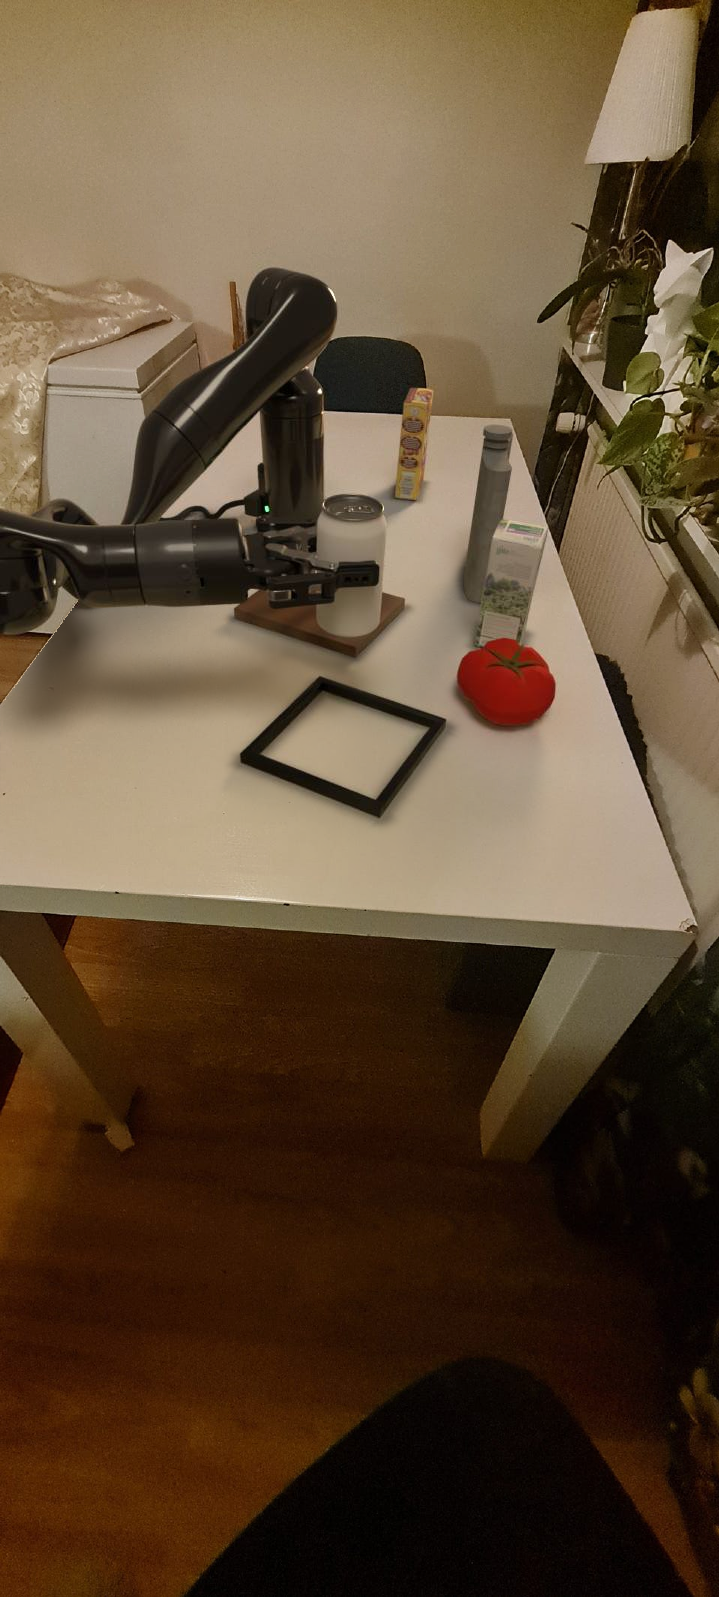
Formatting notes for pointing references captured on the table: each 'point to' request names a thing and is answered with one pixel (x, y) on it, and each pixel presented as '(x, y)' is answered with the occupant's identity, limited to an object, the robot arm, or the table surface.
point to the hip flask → (487, 506)
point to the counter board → (312, 622)
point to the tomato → (507, 682)
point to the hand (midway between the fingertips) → (370, 555)
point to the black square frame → (328, 788)
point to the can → (353, 536)
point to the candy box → (413, 443)
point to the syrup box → (510, 581)
